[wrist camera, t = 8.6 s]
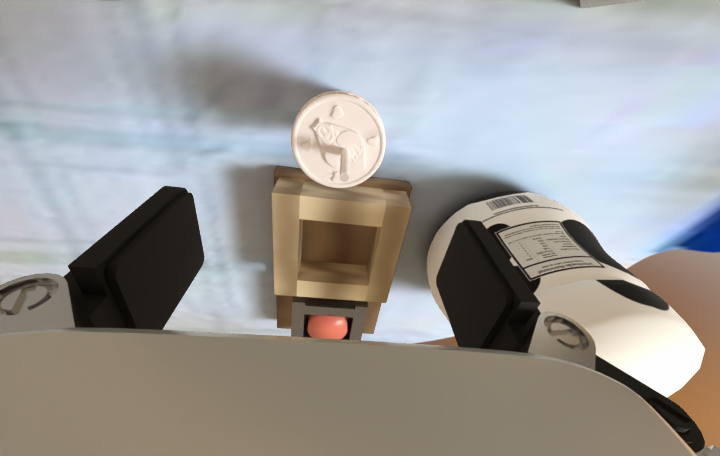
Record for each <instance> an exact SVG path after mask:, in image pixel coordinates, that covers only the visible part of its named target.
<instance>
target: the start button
mask: <svg viewBox="0 0 720 456" xmlns="http://www.w3.org/2000/svg"><path fill="white" fill-rule="evenodd" d="M308 333H309V335H310V336H311V337H312V338H324V339H342V338H343V337H344V336H345V335H346V333H347V317H337V316H322V315H309V322H308Z"/></svg>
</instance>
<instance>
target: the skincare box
mask: <svg viewBox="0 0 720 456" xmlns="http://www.w3.org/2000/svg"><path fill="white" fill-rule="evenodd" d="M579 1H580V6H581V8H590V7H598V6H606V5H613V4H622V3H630V2H638V1H647V0H579Z"/></svg>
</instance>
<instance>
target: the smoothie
mask: <svg viewBox="0 0 720 456" xmlns="http://www.w3.org/2000/svg"><path fill="white" fill-rule="evenodd" d="M291 145H292V151H293V154H294V157H295V159H296V161H297V163H298V165H299V167H300V168H301V169H302V171H303V172H304V173H305V174H306V175H307V176H309V177H310V178H311V179H312V180H314V181H316V182H317V183H319V184H322V185H324V186H328V187H333V188H347V187H352V186H355V185H358V184H360V183H362V182H364V181H365V180H367V179H368V178H369V177H371V176H372V175H373V174H374V173H375V171H376V170H377V169H378V167H379V166H380V164H381V162H382V160H383V157H384V154H385V148H386V137H385V129H384V126H383V123H382V120H381V118H380V116H379V114H378V113H377V111H376V110H375V109H374V107H373V106H372V105H371V104H370V103H368V102H367V101H366V100H365V99H364V98H362V97H360V96H358V95H356V94H353V93H351V92H345V91H338V90H336V91H330V92H324V93H321V94H319V95H317V96H315V97H313V98H311V99H310V100H309V101H308V102H307V103H306V104H305V105H304V106H303V107H302V108H301V110H300V111H299V113H298V115H297V116H296V118H295V122H294V125H293V129H292V134H291Z"/></svg>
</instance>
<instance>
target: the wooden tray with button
mask: <svg viewBox="0 0 720 456" xmlns="http://www.w3.org/2000/svg"><path fill="white" fill-rule="evenodd" d="M411 189H412V187H411V185H410V182H408V181H399V180H391V179H383V178H374V177H369V178H368V179H367V180H365V181H364V182H362V183H360V184H358V185H355V186H352V187H347V188H333V187H328V186H324V185H322V184H319V183H317V182H316V181H314V180H312V179H311V178H310V177H309V176H307V175H306V174H305V173H304V172H303V171H302V169H299V168H291V167H282V166H277V167H276V169H275V171H274V189H273V191H272V225H273V263H274V295H277V328H287V329H291V337H307V338H312V337H311V336H310V335H309V333H308V322H309V315H322V316H337V317H347V333H346V335H345V336H344V337H343V338H342V339H341V340H358V341H361V336H362V333H368V334H373V333H374V330H375V326H376V322H377V318H378V314H379V311H380V307H381V303H386V301H387V298H388V294H389V290H390V287H391V283H392V280H393V276H394V272H395V269H396V265H397V261H398V258H399V254H400V251H401V247H402V243H403V240H404V236H405V232H406V229H407V225H408V221H409V218H410V214H411V211H412V206H411V203H410V201H409V197H410V193H411Z"/></svg>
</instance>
